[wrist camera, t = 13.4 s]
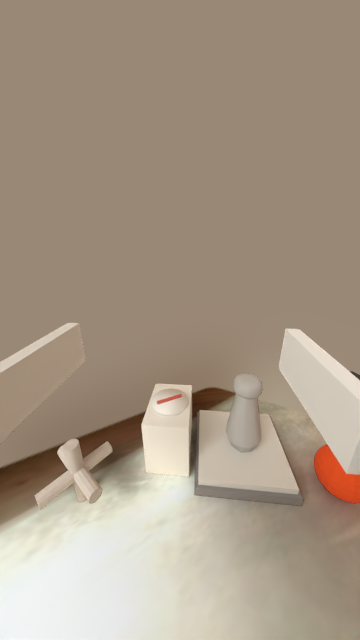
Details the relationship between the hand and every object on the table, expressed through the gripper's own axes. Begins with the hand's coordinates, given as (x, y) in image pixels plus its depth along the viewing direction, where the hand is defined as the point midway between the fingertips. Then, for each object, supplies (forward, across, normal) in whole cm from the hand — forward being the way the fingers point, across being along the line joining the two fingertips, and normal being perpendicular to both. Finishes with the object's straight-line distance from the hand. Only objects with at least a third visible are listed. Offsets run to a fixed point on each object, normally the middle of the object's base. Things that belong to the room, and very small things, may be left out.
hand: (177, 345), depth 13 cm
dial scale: (+16, +5, -29) cm, 33 cm away
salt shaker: (+16, +9, -26) cm, 32 cm away
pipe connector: (+7, -15, -29) cm, 34 cm away
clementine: (+10, +23, -29) cm, 38 cm away
